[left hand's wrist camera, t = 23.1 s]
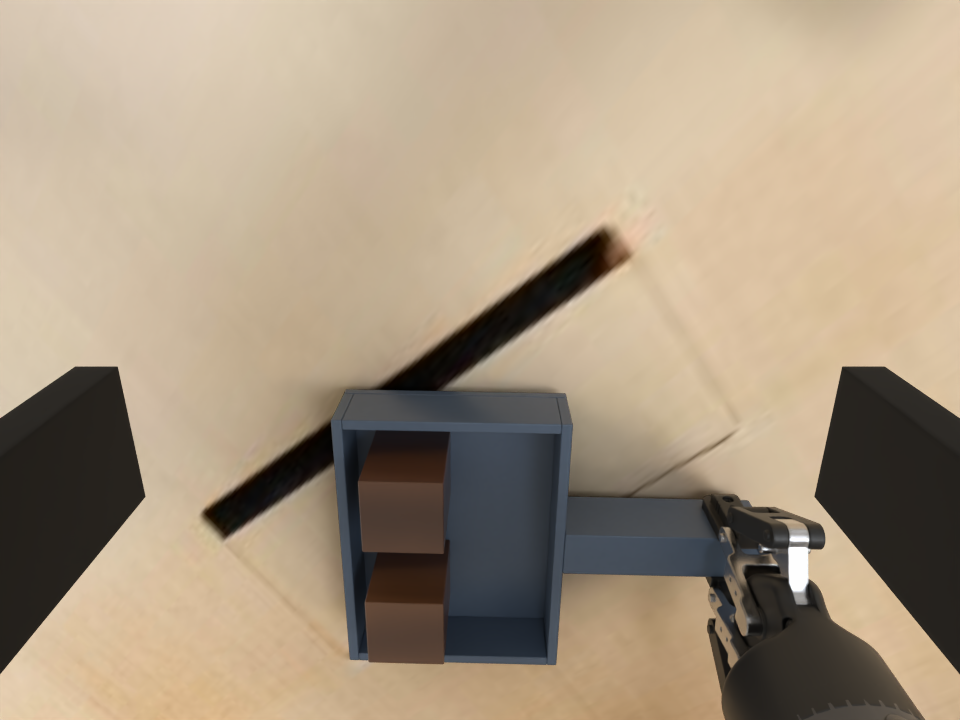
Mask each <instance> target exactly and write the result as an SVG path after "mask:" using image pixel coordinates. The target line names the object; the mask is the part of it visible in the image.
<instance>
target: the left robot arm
mask: <svg viewBox="0 0 960 720" xmlns="http://www.w3.org/2000/svg"><path fill="white" fill-rule="evenodd" d="M144 498H145V492H144V488H143V483H142V478H141V474H140V469H139V464H138V460H137V455H136V450H135V446H134V441H133V436H132V432H131V427H130V422H129V418H128V413H127V408H126V404H125V399H124V394H123V389H122V385H121V380H120V375H119V371H118V367H74V368H73V369H71V370H70V371H68V372H67V373H65V374H64V375H63V376H61V377H60V378H58V379H57V380H55V381H54V382H52V383H51V384H49V385H48V386H47V387H45V388H44V389H42V390H41V391H39V392H38V393H36V394H35V395H33V396H32V397H31V398H29V399H28V400H26V401H25V402H23V403H22V404H20V405H19V406H18V407H16V408H15V409H13V410H12V411H10V412H9V413H7V414H6V415H4V416H3V417H2V418H0V674H1V673H2V671H3V670H4V669H5V668H6V666H7V665H8V664H9V663H10V662H11V660H12V659H13V658H14V657H15V655H16V654H17V653H18V652H19V651H20V649H21V648H22V647H23V646H24V644H25V643H26V642H27V641H28V640H29V638H30V637H31V636H32V635H33V633H34V632H35V631H36V630H37V629H38V627H39V626H40V625H41V624H42V622H43V621H44V620H45V619H46V618H47V616H48V615H49V614H50V613H51V611H52V610H53V609H54V608H55V607H56V605H57V604H58V603H59V602H60V600H61V599H62V598H63V597H64V596H65V594H66V593H67V592H68V591H69V589H70V588H71V587H72V586H73V585H74V583H75V582H76V581H77V580H78V578H79V577H80V576H81V575H82V574H83V572H84V571H85V570H86V569H87V567H88V566H89V565H90V564H91V563H92V561H93V560H94V559H95V558H96V556H97V555H98V554H99V553H100V552H101V550H102V549H103V548H104V547H105V545H106V544H107V543H108V542H109V541H110V539H111V538H112V537H113V536H114V534H115V533H116V532H117V531H118V530H119V528H120V527H121V526H122V525H123V523H124V522H125V521H126V520H127V519H128V517H129V516H130V515H131V514H132V512H133V511H134V510H135V509H136V508H137V506H138V505H139V504H140V503H141V501H142V500H143V499H144ZM815 498H816V499H817V500H818V501H819V503H820V504H821V505H822V506H823V508H824V509H825V510H826V511H827V512H828V514H829V515H830V516H831V517H832V519H833V520H834V521H835V522H836V523H837V525H838V526H839V527H840V528H841V530H842V531H843V532H844V533H845V534H846V536H847V537H848V538H849V539H850V541H851V542H852V543H853V544H854V545H855V547H856V548H857V549H858V550H859V552H860V553H861V554H862V555H863V556H864V558H865V559H866V560H867V561H868V563H869V564H870V565H871V566H872V567H873V569H874V570H875V571H876V572H877V574H878V575H879V576H880V577H881V578H882V580H883V581H884V582H885V583H886V585H887V586H888V587H889V588H890V589H891V591H892V592H893V593H894V594H895V596H896V597H897V598H898V599H899V600H900V602H901V603H902V604H903V605H904V607H905V608H906V609H907V610H908V611H909V613H910V614H911V615H912V616H913V618H914V619H915V620H916V621H917V622H918V624H919V625H920V626H921V627H922V629H923V630H924V631H925V632H926V633H927V635H928V636H929V637H930V638H931V640H932V641H933V642H934V643H935V644H936V646H937V647H938V648H939V649H940V651H941V652H942V653H943V654H944V655H945V657H946V658H947V659H948V660H949V662H950V663H951V664H952V665H953V666H954V668H955V669H956V670H957V671H958V673H959V674H960V418H958V417H957V416H956V415H954V414H953V413H951V412H950V411H948V410H947V409H945V408H944V407H942V406H941V405H940V404H938V403H937V402H935V401H934V400H932V399H931V398H929V397H928V396H927V395H925V394H924V393H922V392H921V391H919V390H918V389H916V388H915V387H913V386H912V385H911V384H909V383H908V382H906V381H905V380H903V379H902V378H900V377H899V376H897V375H896V374H895V373H893V372H892V371H890V370H889V369H887V368H886V367H842V371H841V375H840V380H839V385H838V389H837V394H836V399H835V404H834V408H833V413H832V418H831V422H830V427H829V432H828V436H827V441H826V446H825V450H824V455H823V460H822V464H821V469H820V474H819V478H818V483H817V488H816V492H815Z"/></svg>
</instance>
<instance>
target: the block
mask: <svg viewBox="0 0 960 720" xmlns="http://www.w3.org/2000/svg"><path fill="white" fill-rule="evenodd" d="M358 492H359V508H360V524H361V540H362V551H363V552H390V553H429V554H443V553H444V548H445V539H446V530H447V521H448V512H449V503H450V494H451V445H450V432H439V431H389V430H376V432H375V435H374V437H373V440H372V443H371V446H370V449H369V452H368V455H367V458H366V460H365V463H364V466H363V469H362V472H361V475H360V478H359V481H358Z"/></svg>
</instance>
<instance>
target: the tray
mask: <svg viewBox="0 0 960 720" xmlns="http://www.w3.org/2000/svg"><path fill="white" fill-rule="evenodd" d="M331 428H332V441H333V453H334V466H335V479H336V491H337V504H338V516H339V529H340V541H341V554H342V566H343V579H344V591H345V604H346V616H347V629H348V642H349V654H350V660H368V647H367V631H366V615H365V600H366V596H367V592H368V588H369V584H370V580H371V576H372V572H373V568H374V564H375V560H376V556H377V552H363V551H362V540H361V524H360V508H359V492H358V481H359V478H360V475H361V472H362V469H363V466H364V463H365V460H366V458H367V455H368V452H369V449H370V446H371V443H372V440H373V437H374V435H375V432H376V430H389V431H439V432H450V445H451V494H450V503H449V512H448V521H447V530H446V539H445V540H450V603H449V614H448V625H447V636H446V647H445V658H444V662H456V663H495V664H535V665H546V664H547V665H556V659H557V645H558V631H559V616H560V602H561V588H562V573H565V574H608V575H652V576H695V577H711V576H712V577H724V575H723V573H724V569H725V565H726V562H727V560H726V558H725V555H724V553H723V550H722V548H721V545H720V542H719V541H718V540H717V536H716V534H715V532H714V531H713V529H712V527H711V525H710V523H709V521H708V519H707V517H706V515H705V513H704V511H703V509H702V502H703V499H658V498H612V497H568V487H569V473H570V458H571V444H572V430H573V424H572V420H571V415H570V411H569V407H568V402H567V397H566V394H562V393H510V392H457V391H404V390H352V389H346V391H345V393H344V395H343V397H342V399H341V401H340V403H339V405H338V407H337V409H336V411H335V413H334V415H333V417H332V419H331ZM740 501H741V502H742V504H743V506H744V507H752V506H751V504H750V503H749V501H747V500H740ZM741 550H742V551H743V552H744V553H745V554H758V551H757V549H741Z"/></svg>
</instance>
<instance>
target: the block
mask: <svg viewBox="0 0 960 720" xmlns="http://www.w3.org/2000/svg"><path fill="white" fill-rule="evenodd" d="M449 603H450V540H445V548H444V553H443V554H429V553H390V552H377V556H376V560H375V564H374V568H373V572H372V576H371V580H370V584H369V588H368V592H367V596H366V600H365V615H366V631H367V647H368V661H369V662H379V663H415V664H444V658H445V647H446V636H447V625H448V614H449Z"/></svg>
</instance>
